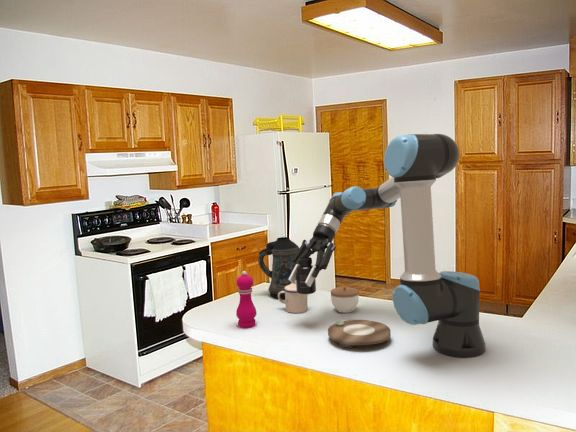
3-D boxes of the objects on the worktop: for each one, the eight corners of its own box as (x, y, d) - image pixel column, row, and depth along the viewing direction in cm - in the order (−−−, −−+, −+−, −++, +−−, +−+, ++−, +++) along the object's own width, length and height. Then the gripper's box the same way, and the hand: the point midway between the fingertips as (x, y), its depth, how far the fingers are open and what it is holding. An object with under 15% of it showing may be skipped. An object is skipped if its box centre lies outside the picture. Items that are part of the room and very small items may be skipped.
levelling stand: (402, 336, 162) (402, 324, 161) (368, 357, 147) (368, 343, 146) (351, 324, 175) (350, 313, 174) (315, 341, 160) (315, 329, 160)
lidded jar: (325, 311, 190) (324, 287, 189) (341, 304, 198) (340, 281, 197) (349, 316, 183) (348, 292, 182) (364, 309, 192) (364, 285, 190)
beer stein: (314, 295, 212) (312, 238, 209) (273, 304, 202) (271, 243, 199) (294, 287, 226) (292, 233, 223) (256, 294, 217) (253, 238, 214)
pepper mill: (254, 329, 174) (251, 273, 172) (234, 328, 176) (231, 273, 173) (259, 322, 181) (256, 268, 179) (240, 321, 183) (237, 268, 180)
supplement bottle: (320, 291, 174) (318, 257, 172) (307, 295, 169) (306, 261, 167) (305, 288, 178) (304, 255, 177) (292, 292, 174) (291, 259, 172)
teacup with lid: (310, 307, 197) (309, 278, 195) (304, 314, 188) (303, 284, 187) (282, 305, 200) (281, 277, 199) (274, 312, 192) (273, 283, 190)
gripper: (353, 238, 176) (327, 293, 166) (310, 233, 189) (283, 284, 179) (344, 225, 172) (316, 281, 162) (300, 221, 185) (272, 273, 175)
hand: (299, 282), depth 171 cm, fingers closed on supplement bottle, 7 cm apart
